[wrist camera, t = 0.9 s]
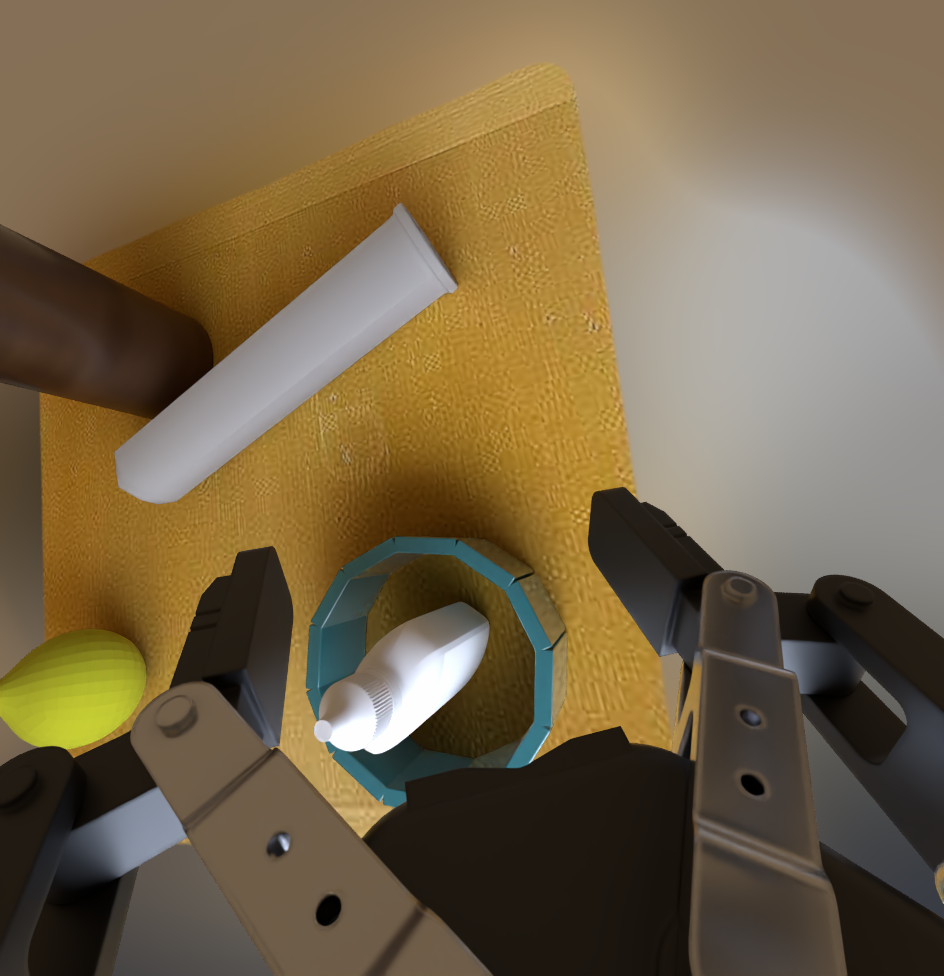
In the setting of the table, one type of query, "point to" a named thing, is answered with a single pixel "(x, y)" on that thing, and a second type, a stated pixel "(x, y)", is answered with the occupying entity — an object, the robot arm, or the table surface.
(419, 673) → the eye dropper bottle
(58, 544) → the table surface
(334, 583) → the teal segmented ring
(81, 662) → the ornament
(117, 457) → the tube
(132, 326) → the stand
